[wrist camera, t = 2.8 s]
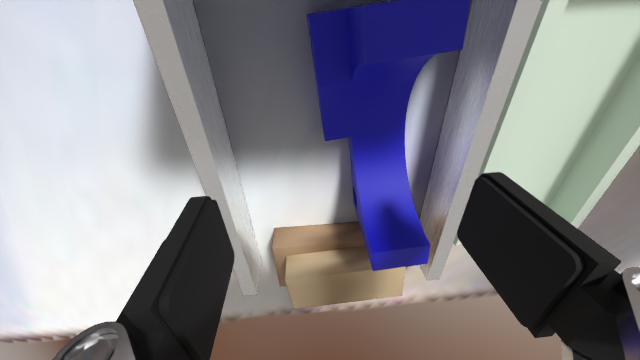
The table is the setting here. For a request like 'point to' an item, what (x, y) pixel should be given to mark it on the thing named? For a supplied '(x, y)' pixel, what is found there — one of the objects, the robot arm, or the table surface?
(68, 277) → the table surface
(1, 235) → the table surface
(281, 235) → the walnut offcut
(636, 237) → the table surface
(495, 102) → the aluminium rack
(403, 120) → the cable clip
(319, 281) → the oak offcut
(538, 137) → the sage tray
